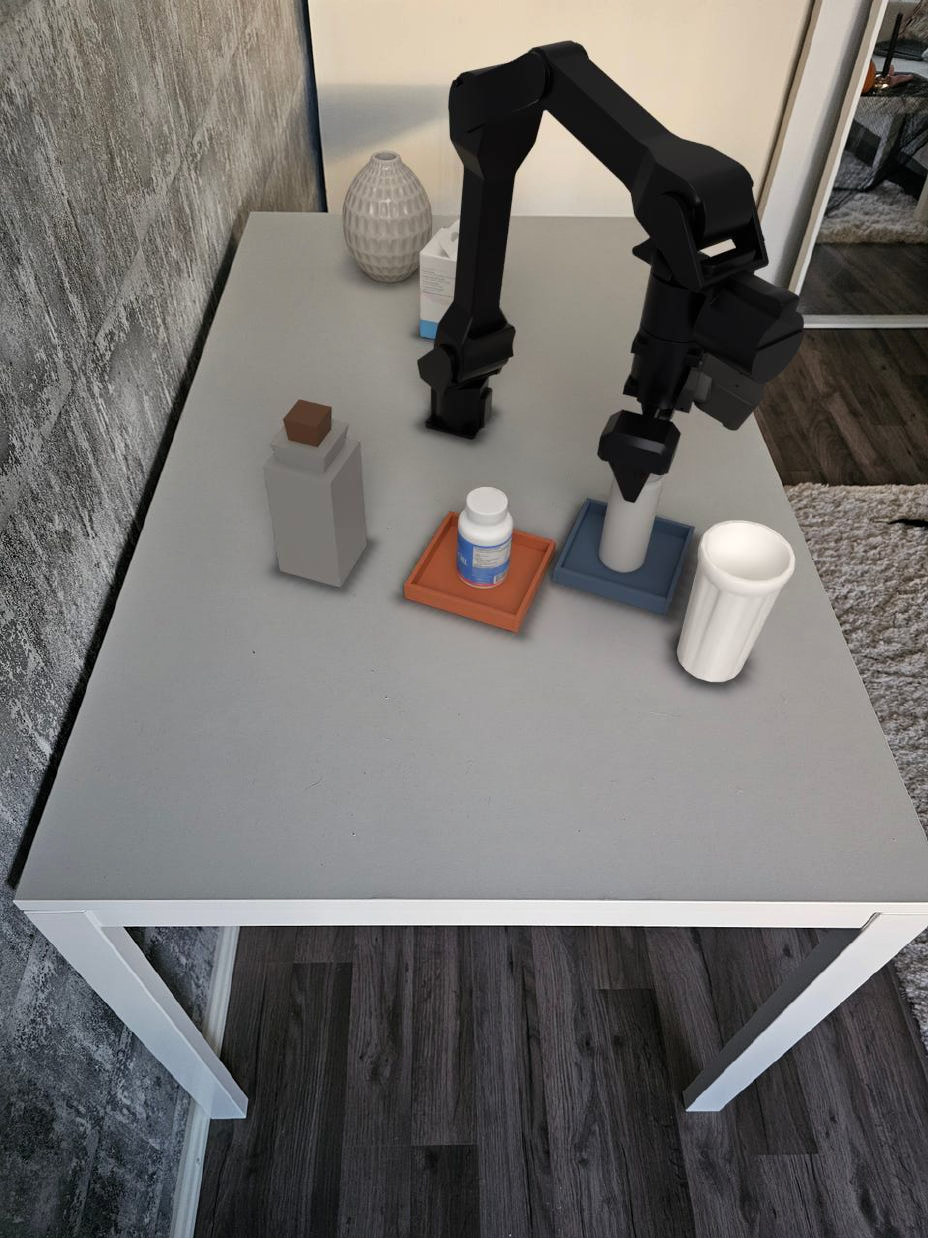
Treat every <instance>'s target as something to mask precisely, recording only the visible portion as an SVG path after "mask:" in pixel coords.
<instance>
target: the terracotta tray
mask: <svg viewBox="0 0 928 1238" xmlns="http://www.w3.org/2000/svg"><path fill="white" fill-rule="evenodd" d="M460 514H461V513H458V512H454V511H451V510H449V511H448V513H447V514H446V516H445V517H444V519H443V521H442V522H441V524H440V526H439V528H438V529H437V531H436V532H435V534H434V536H433V537H432V539H431V541H430V542H429V543H428V545H427V547H426V548H425V550H424V552H423V553H422V555H421V556H420V557H419V560H418V562H417V563H416V565H415V566H414V568H413V570H412V571H411V573H410V575H408V578H407V580H406V581H405V582H404V585H403V586H404V599H408V600H410V601H414V602H417V603H420V604H423V605H427V606H430V607H433V608H435V609H439V610H442V611H446V612H449V613H452V614H456V615H458V616H462V617H465V618H468V619H472V620H475V621H477V622H481V623H485V624H488V625H491V626H494V627H496V628H497V627H498V628H501V629H504V630H507V631H510V632H513V633H517V634H518V633H519V630H520V629H521V626H522V624H523V622H524V621H525V617H526V615H527V613H528V612H529V609H530V607H531V605H532V603H533V600H534V599H535V597H536V594H537V592H538V590H539V588H540V586H541V583H542V581H543V580H544V577H545V575H546V573H547V571H548V570H549V566H550V564H551V562H552V560H553V558H554V556H555V553H556V546H557V541H556V540H553V539H550V538H546V537H543V536H539V535H537V534H533V533H528V532H525V531H522V530H518V529H515V528H513V533H512V542H511V552H510V564H509V572H508V575H507V577H506V579H505V580H504V581H503V582H502V583H501V584H499V585H497V586H495V587H492V588H486V589H482V588H475V587H472V586H470V585H468V584H466V583H464V582H463V581H462V580H461V579H460V577H459V576H458V573H457V538H458V519H459V516H460Z"/></svg>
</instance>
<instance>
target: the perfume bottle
mask: <svg viewBox="0 0 928 1238" xmlns="http://www.w3.org/2000/svg"><path fill="white" fill-rule="evenodd" d="M332 415H333V406H329V405H325V404H321V403H316V402H313V401H309V400H304V399H298V400H297V401H296V402H295V403H294V405H293V406H292V407H291V408H290V409H289V411H288V412H287V413H286V414H285V416H283V418H282V421H283V426H282V427H281V429H280V430H279V431H278V432H277V434H276V435H275V437H274V438H273V439H272V440H271V441H270V442H269V446H270V447H271V450H272V451H273V452H272V453H271V455H270V456H269V457H268V458H267V460H266V461H265V463H264V464H263V465H262V472H263V473H262V474H263V478H264V482H265V489H266V495H267V502H268V509H269V513H270V520H271V526H272V531H273V532H272V533H273V537H274V543H275V550H276V556H277V561H278V567H279V572H282V573H286V574H290V575H292V576H296V577H300V578H304V579H308V580H311V581H314V582H319V583H321V584H326V585H328V586H333V587H335V588H342V587H343V585H344V583H345V582H346V580H347V578H348V577H349V575H350V573H351V572H352V570H353V568H355V567H354V566H355V565H356V564H357V562H358V560H359V559H360V557H361V555H362V554H363V552H364V550H365V549H366V548H367V546H368V542H367V540H368V539H367V524H366V510H365V495H364V493H365V492H364V478H363V462H362V448H361V440H358V439H354V438H350V437H347V436H348V431H349V427H350V423H348V422H344V421H340V420H336V419H332V417H333V416H332Z"/></svg>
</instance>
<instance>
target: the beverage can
mask: <svg viewBox="0 0 928 1238" xmlns="http://www.w3.org/2000/svg"><path fill="white" fill-rule="evenodd" d="M612 474H613V473H612ZM665 478H666V477H665V474H664V475H656V474H652V473H651V474H650V476H649V478H648V479H647V481H646V483H645V485H644V487H643V489H642V491H641V493H640V495H639V497H638V499H637V501H636V502H635V503H631V502H627V501H625V500H624V499H623V496H622V494H621V491H620V489H619V486H618V484H617V481H616V478H615V476H614V474H613V475H612V479H611V485H610V490H609V495H608V501H607V503H608V505H607V510H606V515H605V521H604V526H603V531H602V536H601V541H600V546H599V558H600V560H601V561H602V563H603V564H604V565H605V566H606V567H608V568H609V569H611V570H613V571H616V572H619V573H628V572H632V571H634V570H636V569H638V568H639V567H641V566H642V564H643V563H644V560H645V556H646V552H647V548H648V544H649V540H650V536H651V532H652V527H653V523H654V519H655V516H657V511H658V508H659V503H660V499H661V495H662V491H663V486H664V482H665V480H666V479H665Z"/></svg>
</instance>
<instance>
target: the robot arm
mask: <svg viewBox="0 0 928 1238" xmlns="http://www.w3.org/2000/svg"><path fill="white" fill-rule="evenodd" d="M447 109H448V128H449V129H448V131H449V140H450V142H451V144H452V146H453V148H454V150H455V152H456V154H457V156H458V157H459V159H460V161H461V164H462V165H463V173H462V174H463V175H462V187H461V200H460V211H459V213H460V215H459V219H460V224H459V237H458V250H457V263H456V276H455V289H454V299H453V302H452V303H451V305H450V306H449V308H448V309H447V311H446V312H445V314H444V315H443V317H442V318H441V320H440V321H439V323H438V326H437V331H436V336H435V339H434V342H433V346H432V347H433V348H432V349H431V350H429V351H428V352H427V353H426V354H424V355H423V356H421V357H420V358H418V359H417V360H416V365H417V370H418V375H419V378H420V379H421V380H422V381H423V382H424V383H425V384H427V386H429V387H430V415H429V416H428V417H427V419H426V420H425V422H424V426H425V428H427V429H430V430H434V431H438V432H441V433H446V434H450V435H452V436H453V435H454V436H457V437H461V438H465V439H468V440H476V438H477V436H478V435H479V433H480V432H481V430H482V429H483V428H485V427H486V425H487V424H488V422H489V421H490V419H491V417H492V413H493V411H492V410H493V409H492V407H493V388H492V387H490V377H492V376H498V375H500V374H501V372H502V369H503V367H504V366H506V365H507V364H508V362H509V360H510V359H511V358H514V339H515V337H516V333H517V331H516V327H515V326H514V325H513V324H511V323H509V321H508V319H507V317H506V315H505V314H504V312H503V310H502V309H501V297H502V287H503V279H504V271H505V263H506V255H507V247H508V240H509V239H508V238H509V231H510V230H509V229H510V222H511V215H512V206H513V199H514V191H515V190H514V189H515V181H516V176H517V173H518V171H519V169H520V167H522V165H523V163H524V161H525V160H526V158H527V157H528V155H529V154H530V152H531V151H532V149H533V148H534V146H535V145H536V143H537V139H538V135H539V130H540V127H541V123H542V119H543V115H544V112H546V111H547V112H548V114H549V115H551V117H553V118H554V119H555V120H556V121H557V122H558V123H559V124H560V125H561V127H563V128H564V129H565V130H566V131H567V132H569V133H570V135H572V136H573V138H575V139H576V140H577V141H578V142H579V143H580V144H581V145H582V146H583V147H584V148H585V149H586V150H587V151H588V152H590V153H591V154H592V155H593V156H594V157H595V158H596V159H597V160H598V161H599V162H600V163H601V164H602V165H603V166H604V167H605V168H606V169H607V170H608V171H609V172H610V173H611V174H612V175H613V176H614V177H615V178H617V179H618V180H619V181H620V182H621V183H622V184H623V186H624V187H625V188H626V189H627V192H629V194H630V197H631V198H630V199H631V204H632V211H633V215H634V217H635V219H636V221H637V222H638V224H639V225H640V226H641V227H642V228H643V230H644V231H645V233H646V234H647V236H648V238H647V239H645V240H644V241H642V242H641V243H639V244H637V245H634V246H632V250H631V253H632V255H633V256H634V257H635V258H638V259H639V260H641V261H643V262H644V263H646V264H648V265H649V266H650V270H649V275H648V281H647V285H646V289H645V296H644V301H643V305H642V311H641V317H640V321H639V327H638V330H637V332H636V334H635V336H634V338H633V340H632V342H631V347H630V354H633V358H632V363H631V367H630V372H629V374H628V376H627V378H626V380H625V382H624V385H623V390H622V395H623V396H628V397H632V398H636V401H637V402H638V403H639V404H640V407H641V413H639V412H635V411H631V410H628V409H622V408H621V409H620V410H618V411H617V412H615V413H612V414H611V415H610V416H609V417H608V419H607V422H606V424H605V426H604V428H603V430H602V432H601V434H600V436H599V440H598V446H597V452H596V456H597V457H598V459H600V460H601V461H602V462H607V463H608V465H609V468H610V469H611V472H612V474H614V476H615V478H616V481H617V484H618V486H619V489H620V491H621V494H622V496H623V499H624V500H625V501H627V502H631V503H635V502H636V501H637V499H638V497H639V495H640V493H641V491H642V489H643V487H644V485H645V483H646V481H647V479H648V478H649V476H650V474H651V473H652V474H656V475H664V476H665V475H668V474H669V472H670V469H671V466H672V463H673V462H674V459H675V456H676V453H677V450H678V447H679V446H678V445H679V443H680V439H681V435H682V432H681V431H680V430H679V428H678V427H677V426H676V424H675V423H674V422H673V421H672V419H673V417H674V415H675V412H680V413H685V414H690V412H691V409H692V407H693V405H694V406H695V407H696V409H698V410H699V411H701V412H702V413H704V414H706V415H708V416H709V417H711V418H712V419H714V420H716V421H717V422H719V423H721V425H722V427H723V428H725V429H727V430H729V431H733V432H737V431H738V430H740V428H741V427H742V425H744V423H745V422H746V421H747V420H748V418H749V417H750V416H751V415H752V414H753V413H754V411H755V410H756V409H757V408H758V406H759V405H760V404H761V401H762V397H763V394H764V390H765V388H766V384H767V383H769V382H771V381H773V380H774V379H776V378H777V377H778V376H779V375H780V374H781V373H783V372H784V370H786V368H787V367H788V366H789V365H790V364H791V362H792V361H793V359H794V358H795V356H796V355H797V353H798V351H799V350H800V348H801V345H802V343H803V342H804V341H803V340H804V338H805V334H806V331H805V330H804V329H805V319H804V316H803V315H802V313H801V312H799V311H797V309H798V305H799V302H800V299H801V298H800V296H799V294H797V293H795V292H793V291H791V290H789V289H787V288H784V287H779V286H776V285H774V284H772V283H771V282H769V281H767V280H765V279H763V277H762V278H761V277H760V276H758V275H756V274H755V273H756V271H758V270H760V269H764V268H766V267H768V265H769V263H770V259H769V255H768V251H767V247H766V242H765V241H766V239H765V237H764V233H763V230H762V225H761V222H760V217H759V214H758V213H759V212H758V208H757V205H756V200H755V195H754V190H753V188H754V186H755V184H754V182H755V181H754V179H753V177H752V175H751V173H750V172H749V170H748V169H747V168H746V167H745V166H744V165H743V164H742V163H740V162H739V161H738V160H736V159H734V158H732V157H731V156H729V155H727V154H725V153H723V152H722V151H720V150H718V149H717V148H715V147H713V146H712V145H711V146H710V145H708V144H703V143H700V142H696V141H693V140H689V139H686V138H685V139H684V138H682V137H680V136H679V135H676V134H675V133H673V132H672V131H670V130H669V129H667V127H665V125H663V124H662V123H661V122H660V121H659V120H658V119H657V118H656V117H654V116H653V115H652V114H651V112H649V111H648V110H647V109H645V108H644V106H642V104H640V103H639V102H638V101H637V100H635V98H633V97H632V96H631V95H630V94H629V92H627V91H625V89H623V88H622V87H621V86H620V84H618V83H617V82H616V81H615V80H613V78H611V77H610V76H609V75H608V74H607V73H606V72H604V70H602V68H600V67H599V66H598V65H597V64H596V63H594V62H593V61H592V60H591V59H590V56H589V53H588V51H587V49H586V48H585V47H584V45H583V44H581V43H579V42H577V41H576V42H575V41H573V40H572V39H571V40H569V39H568V40H562V41H558V42H553V43H548V44H543V45H537V46H534V47H531V48H530V49H529V50H527V52H525V53H523V54H521V55H520V56H518V57H516V58H514V59H512V60H511V61H508V62H504V63H499V64H495V65H489V66H485V67H480V68H476V69H472V70H467V71H462V72H461V73H460V74H458V76H457V77H456V78H455V79H453V80H452V81H451V84H450V87H449V92H448V103H447ZM730 240H731V241H732V243H733V245H734V247H733V248H730V249H728V250H725V251H723V252H722V251H721V252H720V253H717V254H715V255H712V256H711V255H709V254H707V253H705V252H703V250H705V249H708V248H710V247H713V246H716V245H719V244H722V243H724V242H727V241H730Z"/></svg>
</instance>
